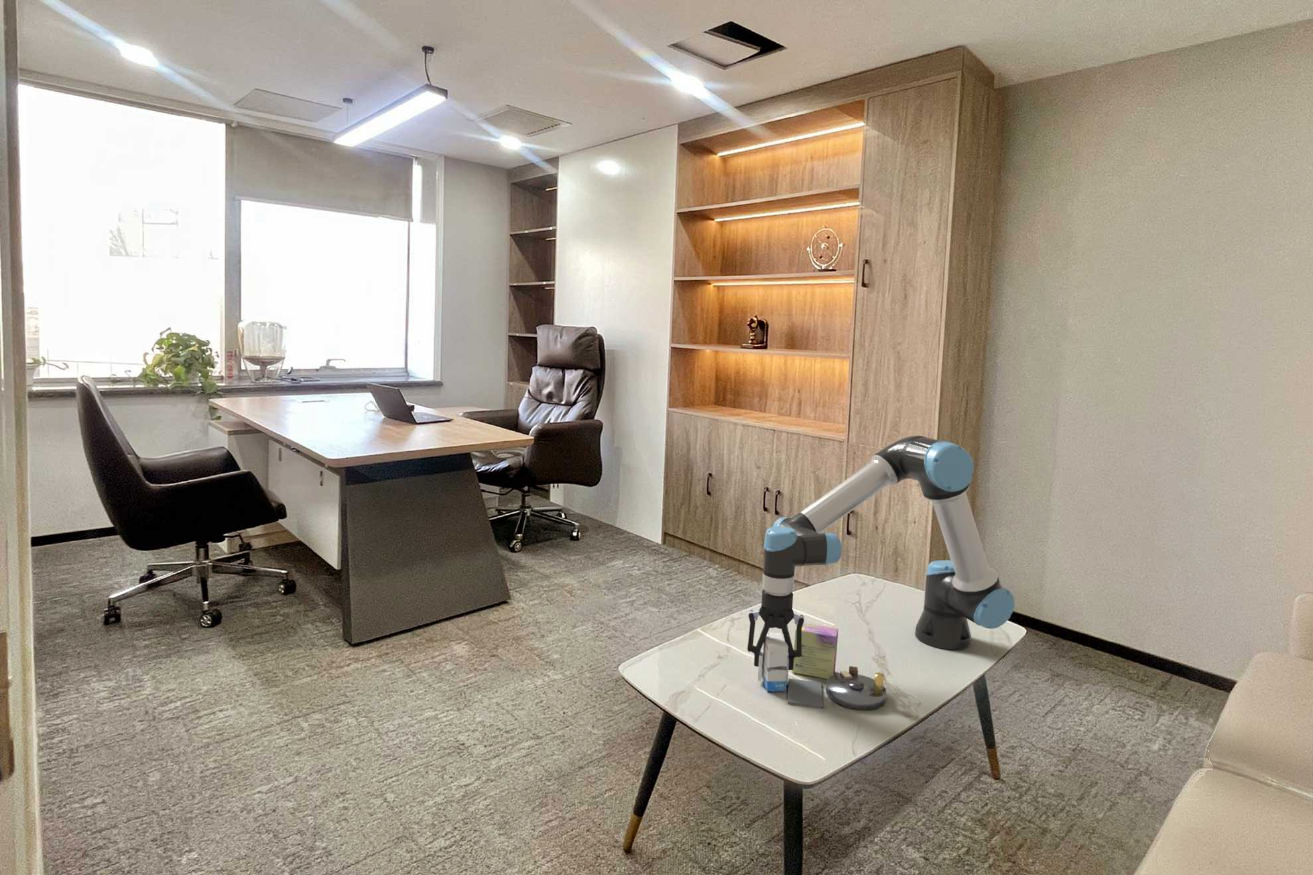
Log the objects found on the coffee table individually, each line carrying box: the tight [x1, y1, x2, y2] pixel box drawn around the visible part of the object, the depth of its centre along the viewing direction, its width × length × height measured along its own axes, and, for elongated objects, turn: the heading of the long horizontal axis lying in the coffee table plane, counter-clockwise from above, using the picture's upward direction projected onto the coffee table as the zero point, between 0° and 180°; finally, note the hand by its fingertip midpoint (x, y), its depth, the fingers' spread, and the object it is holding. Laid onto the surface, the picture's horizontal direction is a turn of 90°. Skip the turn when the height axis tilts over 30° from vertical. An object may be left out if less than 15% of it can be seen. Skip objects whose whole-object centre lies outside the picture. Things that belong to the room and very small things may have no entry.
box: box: [791, 622, 839, 680], centre depth 189 cm, size 10×6×12 cm, turn 71°
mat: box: [787, 678, 824, 709], centre depth 178 cm, size 8×12×1 cm, turn 169°
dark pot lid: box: [825, 670, 887, 710], centre depth 178 cm, size 14×14×7 cm
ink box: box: [761, 631, 788, 692], centre depth 182 cm, size 9×5×12 cm, turn 3°
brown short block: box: [848, 665, 859, 675], centre depth 186 cm, size 2×2×3 cm
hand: (772, 679), depth 183 cm, fingers closed on ink box, 6 cm apart
